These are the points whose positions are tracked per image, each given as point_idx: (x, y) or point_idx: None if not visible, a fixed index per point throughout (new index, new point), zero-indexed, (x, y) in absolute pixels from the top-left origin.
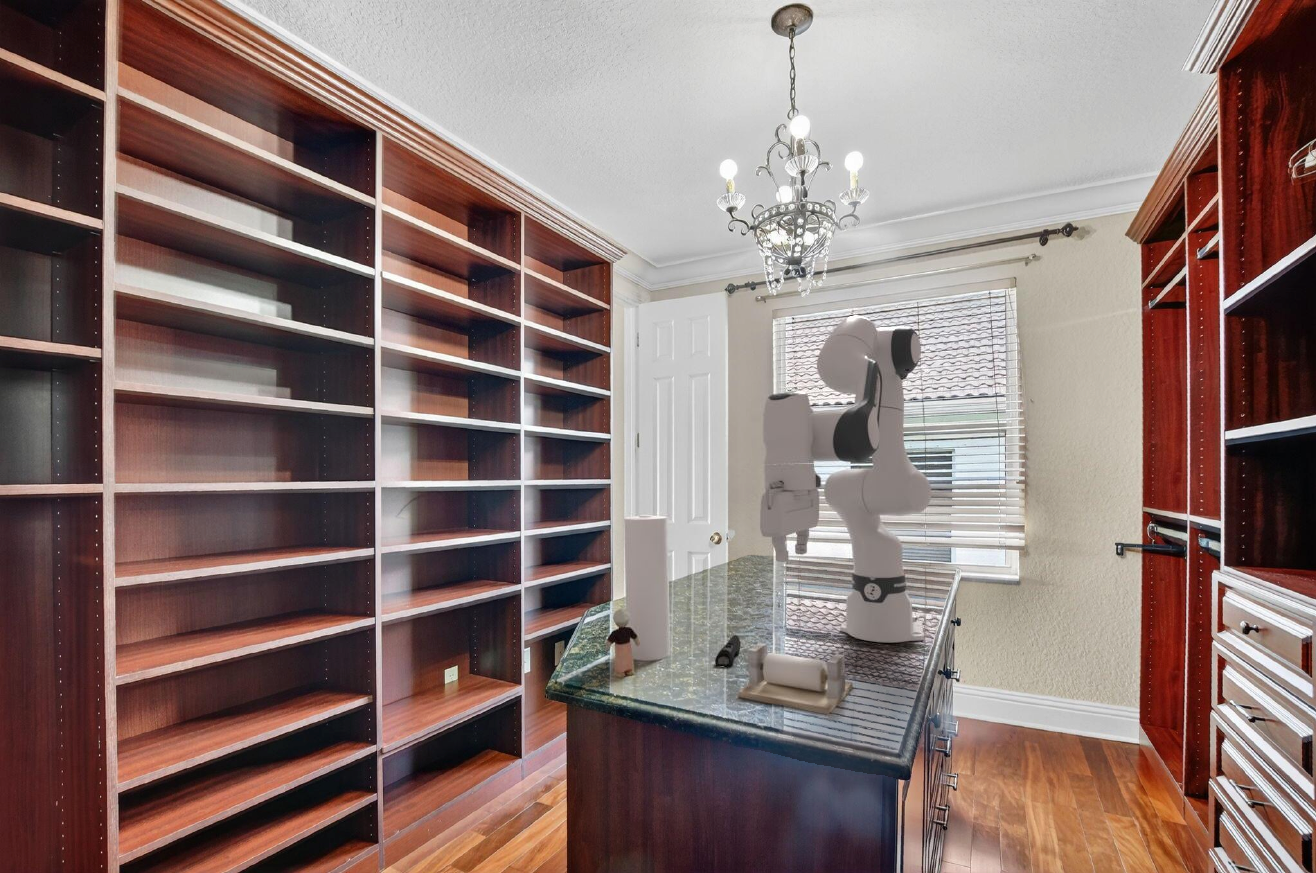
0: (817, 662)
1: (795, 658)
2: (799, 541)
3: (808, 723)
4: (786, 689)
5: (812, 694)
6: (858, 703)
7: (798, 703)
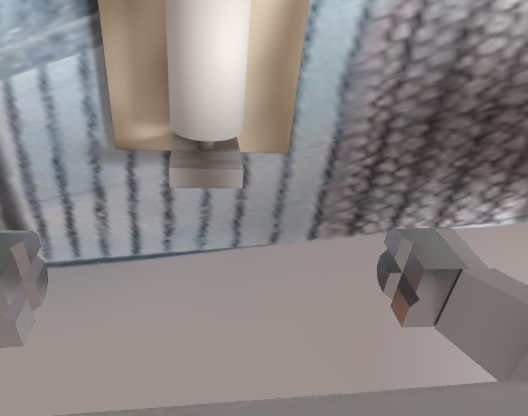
0: (195, 132)
1: (199, 69)
2: (477, 301)
3: (48, 121)
4: None
5: None
6: None
7: (108, 84)
